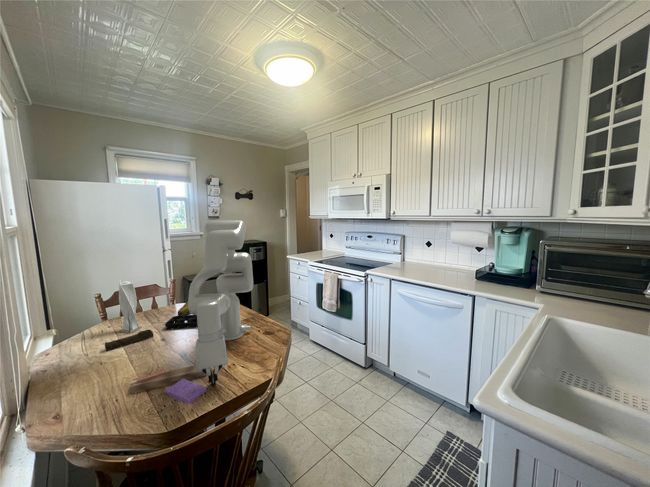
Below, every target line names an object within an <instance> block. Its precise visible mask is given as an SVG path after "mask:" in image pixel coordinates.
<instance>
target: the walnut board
mask: <svg viewBox="0 0 650 487" xmlns="http://www.w3.org/2000/svg"><path fill="white" fill-rule="evenodd" d="M147 376H148V375H146V376H141V377H137V378H133V379H132V381H135V380H137V379H140V378H143V377H147ZM206 376H207V374H206V373H204V372H196V364H195V365H191V366H187V367H186V366H185V367H181V368H178V369H173V370H169V371H166V374H164V375H161V376H158V377H155V378H151V379H148V380H145V381H142V382H139V383H135V384H132V382H131V384H130V386H129V392H130V395H133V394H136V393H141V392H144V391H149V390H154V389H157V388H161V387H166V386H169V385H174V384H176V383H177V382H178V381H180V380H181V379H185V380H188V381H191V380H195V379H198V378H203V377H206Z"/></svg>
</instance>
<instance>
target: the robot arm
mask: <svg viewBox="0 0 650 487" xmlns="http://www.w3.org/2000/svg"><path fill="white" fill-rule="evenodd" d="M204 231H205V232H206V236H205V245H204V259H203V267H202V269H201V270H200V271H199V272H198V273H197V274H195V277H194V278H193V280H192V281H191V283H190V286H189V290H188V300H187V301H188V309H189V312H190V313H189V314H190V315H197V325H198V327H197V336H198V338H197V339H196V341H195V365H196V372H204V373H206V376H207V377H208V379H207V380H208V383H209V384H210V386H211V387H212V386H216V384H217V382H218V373H219V371H220V370H221V369H222V368H223V367H225V366H228V365H229V362H228V353H227V345H226V341H234V340H237V339H239V338H241V337H243V336H244V335H245V331H246V330H247V331H248V330H251V329H252V328H251V325H249V324H242V322H241V321H242V320H241V307H240V306H241V303H240V299H239V297H238V296H237V295H236V294H239V293H240V294H241V293H248V292H251V291H252V290H253V289H254V275H253V273H254V272H253V262H252V257H251V255H250V254H249V253H248V252H236V250H242V248H243V247H244V246H243V245H244V242H245V238H246V233H247V226H246V223H245V222H244V221H243V220H240V219H238V220H237V219H235V220H234V219H233V220H231V219H229V220H228V219H227V220H226V219H225V220H223V219H221V220H220V219H219V220H210V221H207V222H206V223H205V225H204ZM221 273H224V274H221ZM218 274H221V275H219V276H218V277H217V278H216V280H215V286H216V291H217V293H204V294H203V293H201V294H200V290H201V289H200V288H201V287H202V285H203V283H205V282H206V281H207V280H208V279H210V278H212V277H214V276H216V275H218ZM211 368H213V370H212V369H211Z"/></svg>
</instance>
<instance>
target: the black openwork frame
mask: <svg viewBox="0 0 650 487" xmlns="http://www.w3.org/2000/svg"><path fill="white" fill-rule="evenodd" d="M164 326H165V327H166V330H171V331H172V330H175V329H178V330H182V329H187V328H188V329H195V328H196V327H197V328H198V325H197V315H193V314H186V315H182V316H178V315H175V316H171V318H170V319H168V320H167V321H166V322H165V323H164Z"/></svg>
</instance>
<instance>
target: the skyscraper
mask: <svg viewBox="0 0 650 487" xmlns="http://www.w3.org/2000/svg"><path fill="white" fill-rule="evenodd" d="M121 281H122V280H121V278H119V280H118V282H119V285H118V303H119V308H120V311H121V313H122V316H123V320H122V330H120V331H119V334H133V333H135V332H137V331H138V330H141V329H142V328H143V326H140V325H139V322H138V319H137V316H136V309H137V300H138V299H137V294H136V293H137V292H136V289H135V285H134V281H133V280H131V281H129V280H126V281H125V280H124V281H122V282H121Z"/></svg>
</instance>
